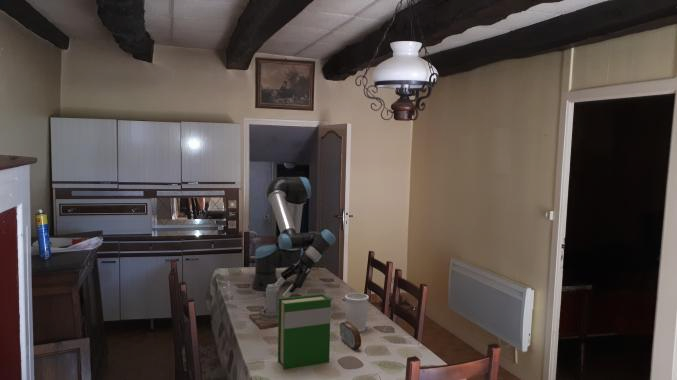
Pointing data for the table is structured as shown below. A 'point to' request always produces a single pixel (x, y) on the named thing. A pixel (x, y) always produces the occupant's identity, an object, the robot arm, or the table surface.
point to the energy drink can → (272, 299)
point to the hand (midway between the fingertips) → (279, 293)
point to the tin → (350, 335)
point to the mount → (264, 319)
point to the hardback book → (304, 330)
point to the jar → (356, 310)
